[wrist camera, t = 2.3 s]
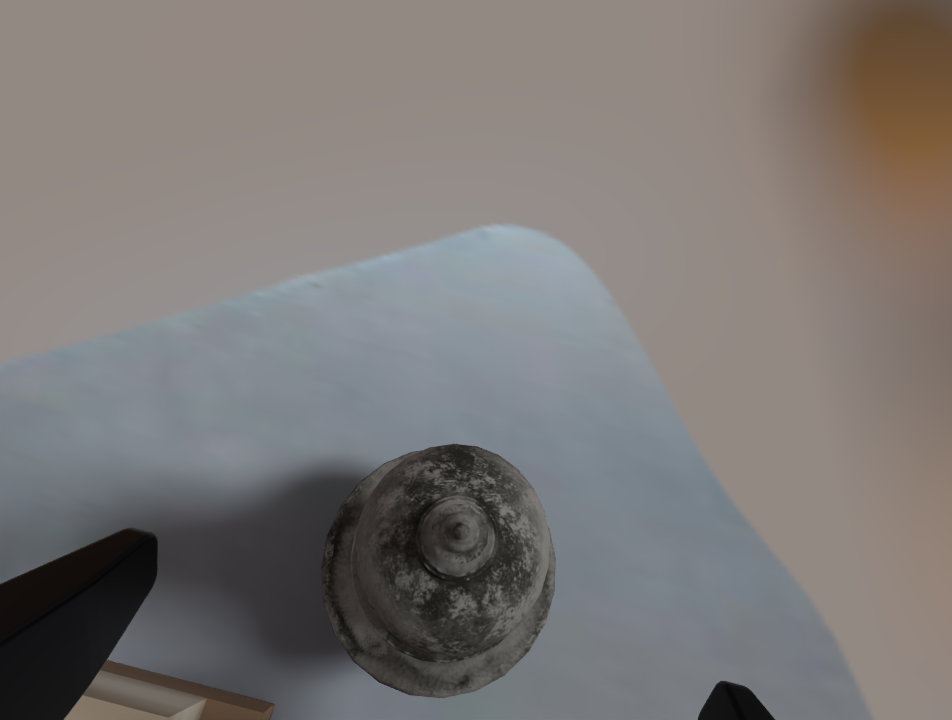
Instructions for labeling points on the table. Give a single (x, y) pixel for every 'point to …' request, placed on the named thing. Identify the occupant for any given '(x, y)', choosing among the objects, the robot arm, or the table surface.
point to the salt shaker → (439, 571)
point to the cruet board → (160, 699)
